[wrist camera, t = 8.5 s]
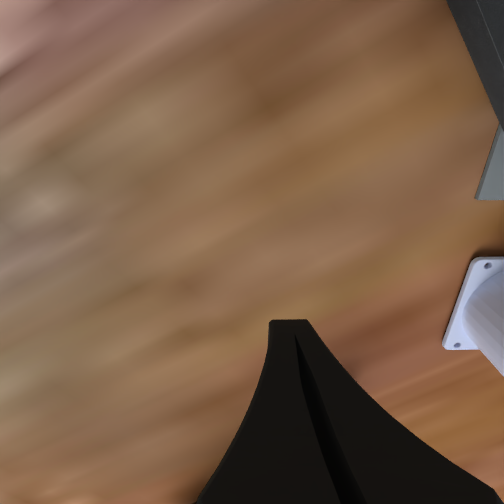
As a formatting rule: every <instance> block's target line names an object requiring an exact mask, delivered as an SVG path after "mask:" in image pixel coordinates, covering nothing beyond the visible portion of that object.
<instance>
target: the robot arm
mask: <svg viewBox="0 0 504 504" xmlns="http://www.w3.org/2000/svg"><path fill="white" fill-rule="evenodd" d="M486 263H488V264H487V265H486V266H484V265H485V264H486ZM442 345H443V347H444V348H445V349H447V350H467V349H480V350H481V352H482V353H483V354H484V355H485V356H486V357H487V358H488V359H489V361H490V362H491V363H492V364H493V365H494V366H495V367H496V368H497V369H498V371H499V372H500V373H501V374H502V375H503V376H504V257H477V258H475V259H473V260H472V261H471V263H470V266H469V269H468V271H467V274H466V277H465V280H464V283H463V285H462V288H461V291H460V294H459V297H458V299H457V302H456V305H455V308H454V311H453V313H452V316H451V319H450V322H449V325H448V327H447V330H446V333H445V336H444V339H443V341H442ZM196 504H504V503H503V502H502V500H501V499H500V498H499V496H498V495H497V493H496V492H495V490H494V489H493V488H491V487H490V486H488V485H486V484H485V483H483V482H482V481H480V480H479V479H477V478H476V477H474V476H472V475H471V474H469V473H468V472H466V471H465V470H463V469H462V468H460V467H459V466H457V465H455V464H454V463H452V462H451V461H449V460H448V459H447V458H445V457H444V456H442V455H441V454H440V453H438V452H437V451H435V450H434V449H433V448H431V447H430V446H429V445H427V444H426V443H424V442H423V441H422V440H421V439H419V438H418V437H417V436H415V435H414V434H413V433H412V432H410V431H409V430H408V429H407V428H406V427H404V426H403V425H402V424H401V423H399V422H398V421H397V420H396V419H394V418H393V417H392V416H391V415H390V414H389V413H388V412H386V411H385V410H384V409H383V408H382V407H381V406H380V405H379V404H378V403H377V402H376V401H375V400H374V399H373V398H371V397H370V396H369V395H368V394H367V393H366V392H365V391H364V390H363V388H362V387H361V386H360V385H359V384H358V383H357V382H356V381H355V380H354V379H353V378H352V377H351V376H350V374H349V373H348V372H347V371H346V370H345V369H344V368H343V366H342V365H341V364H340V363H339V361H338V360H337V359H336V358H335V357H334V355H333V354H332V353H331V352H330V350H329V349H328V348H327V346H326V345H325V344H324V342H323V341H322V340H321V338H320V337H319V336H318V334H317V333H316V331H315V330H314V328H313V327H312V325H311V324H310V322H309V321H308V320H307V319H297V320H271V321H270V322H269V332H268V349H267V354H266V358H265V363H264V366H263V369H262V373H261V376H260V379H259V382H258V385H257V388H256V391H255V393H254V396H253V398H252V401H251V403H250V406H249V408H248V410H247V412H246V415H245V417H244V419H243V421H242V423H241V425H240V427H239V429H238V431H237V433H236V435H235V437H234V439H233V441H232V443H231V445H230V446H229V448H228V450H227V452H226V453H225V455H224V457H223V459H222V461H221V462H220V464H219V466H218V467H217V469H216V471H215V472H214V474H213V475H212V477H211V478H210V480H209V481H208V483H207V484H206V486H205V488H204V489H203V491H202V492H201V494H200V495H199V497H198V500H197V503H196Z"/></svg>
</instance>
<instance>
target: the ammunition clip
mask: <svg viewBox="0 0 504 504" xmlns="http://www.w3.org/2000/svg"><path fill="white" fill-rule="evenodd" d="M446 1H447V3H448V5H449V7H450V10H451V12H452V14H453V17H454V19H455V21H456V24H457V26H458V28H459V30H460V33H461V35H462V37H463V40H464V42H465V44H466V47H467V49H468V51H469V54H470V56H471V58H472V60H473V63H474V65H475V67H476V70H477V72H478V74H479V77H480V79H481V81H482V83H483V86H484V88H485V90H486V93H487V95H488V97H489V100H490V102H491V104H492V107H493V109H494V111H495V113H496V116H497V118H498V120H499V123H500V125H501V127H502V130H503V132H504V0H446Z"/></svg>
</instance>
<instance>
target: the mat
mask: <svg viewBox="0 0 504 504" xmlns="http://www.w3.org/2000/svg"><path fill="white" fill-rule="evenodd" d="M475 199H477V200H504V132H503V130H502V127H501V125H500V123H499V126H498V130H497V133H496V136H495V139H494V142H493V145H492V148H491V151H490V154H489V157H488V160H487V163H486V166H485V169H484V172H483V175H482V178H481V181H480V184H479V187H478V190H477V193H476V196H475Z"/></svg>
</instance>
